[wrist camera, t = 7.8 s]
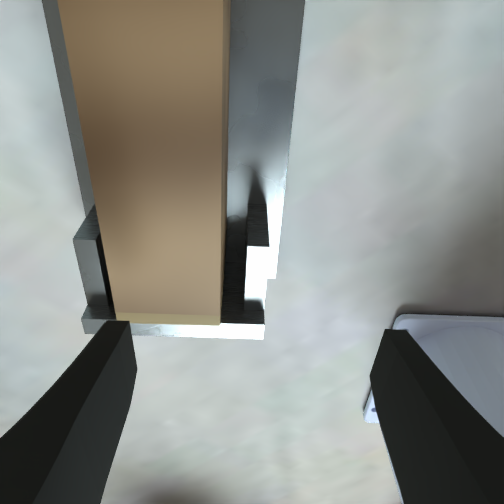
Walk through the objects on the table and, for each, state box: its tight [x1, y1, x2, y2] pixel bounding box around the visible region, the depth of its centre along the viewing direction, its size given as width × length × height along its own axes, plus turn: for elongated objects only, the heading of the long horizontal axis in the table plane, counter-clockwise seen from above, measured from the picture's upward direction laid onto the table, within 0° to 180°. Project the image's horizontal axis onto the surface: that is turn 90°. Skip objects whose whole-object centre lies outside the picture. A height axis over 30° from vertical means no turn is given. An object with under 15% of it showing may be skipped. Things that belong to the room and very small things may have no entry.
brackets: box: [42, 0, 305, 339], centre depth 14 cm, size 16×8×5 cm, turn 177°
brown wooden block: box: [57, 0, 231, 326], centre depth 13 cm, size 12×4×5 cm, turn 177°
